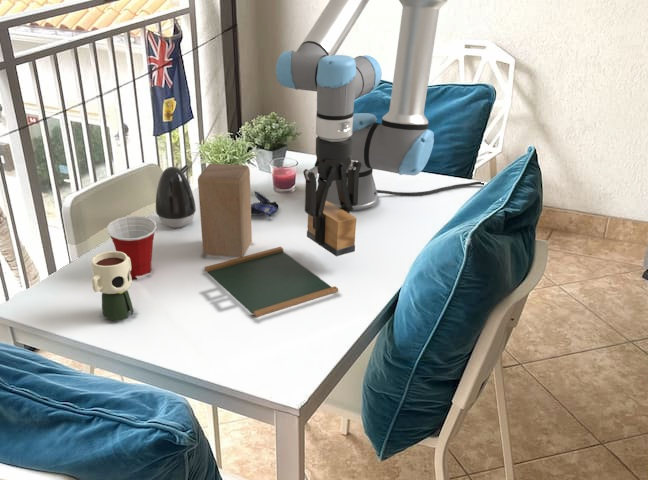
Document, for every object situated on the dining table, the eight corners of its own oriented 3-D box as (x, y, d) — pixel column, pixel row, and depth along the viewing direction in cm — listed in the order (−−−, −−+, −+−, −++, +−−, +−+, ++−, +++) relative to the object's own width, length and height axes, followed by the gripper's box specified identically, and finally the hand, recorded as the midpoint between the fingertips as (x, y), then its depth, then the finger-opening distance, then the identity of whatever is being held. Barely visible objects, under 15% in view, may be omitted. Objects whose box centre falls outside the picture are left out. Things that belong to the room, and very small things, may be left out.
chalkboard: (280, 253, 167) (280, 246, 166) (338, 295, 149) (338, 288, 148) (204, 273, 158) (204, 266, 157) (256, 321, 141) (256, 313, 140)
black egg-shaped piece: (205, 222, 182) (201, 165, 174) (176, 235, 176) (170, 177, 168) (178, 212, 188) (173, 157, 180) (149, 225, 181) (142, 168, 173)
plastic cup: (119, 289, 153) (112, 239, 146) (109, 268, 161) (101, 220, 155) (167, 279, 156) (162, 230, 150) (154, 259, 165) (149, 212, 158)
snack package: (254, 201, 194) (224, 213, 187) (256, 180, 190) (227, 191, 183) (286, 219, 189) (257, 232, 181) (290, 197, 185) (260, 210, 177)
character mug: (114, 332, 138) (104, 274, 131) (87, 323, 141) (76, 265, 134) (148, 307, 146) (141, 251, 139) (122, 299, 149) (114, 244, 142)
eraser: (324, 232, 163) (326, 199, 158) (354, 251, 154) (357, 217, 150) (306, 236, 161) (307, 203, 156) (336, 256, 152) (337, 222, 148)
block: (243, 261, 163) (239, 179, 153) (202, 257, 165) (196, 176, 154) (252, 243, 172) (250, 164, 161) (213, 240, 173) (208, 161, 162)
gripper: (307, 148, 138) (305, 255, 150) (380, 134, 145) (372, 236, 158) (287, 138, 143) (287, 242, 156) (358, 125, 151) (353, 225, 163)
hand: (330, 239), depth 157 cm, fingers closed on eraser, 5 cm apart
